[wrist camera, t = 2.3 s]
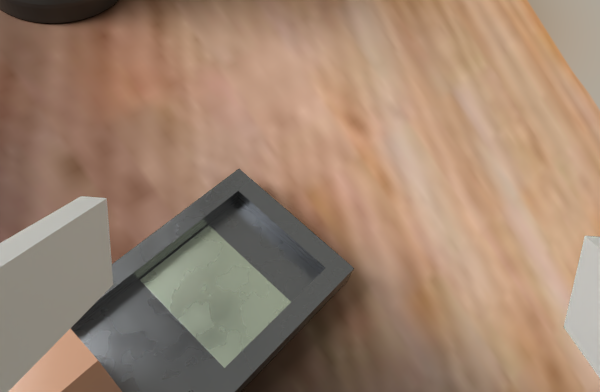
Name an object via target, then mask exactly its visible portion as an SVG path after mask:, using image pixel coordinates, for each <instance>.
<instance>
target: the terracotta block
mask: <svg viewBox="0 0 600 392" xmlns="http://www.w3.org/2000/svg"><path fill="white" fill-rule="evenodd" d="M8 392H122V391H121V389H120V388H119V387H118V386H117V384H116V383H115V382H114V380H113V379H112V378H111V376H110V375H109V374H108V373H107V371H106V370H105V369H104V367H103V366H102V365H101V363H100V362H99V361H98V360H97V358H96V357H95V356H94V355H93V354H92V353H91V351H90V350H89V349H88V348H87V347H86V346H85V345H84V343H83V342H82V341H81V340H80V339H79V338H78V337H77V335H76V334H75V333H74V332H73V331H72V330H71V328H70V329H69V330H68V331H67V332H66V333H65V334H64V335H63V336H62V337H61V338H60V339H59V340H58V341H57V342H56V343H55V344H54V346H53V347H52V348H51V349H50V350H49V351H48V352H47V353H46V354H45V355H44V356H43V357H42V358H41V359H40V360H39V361H38V362H37V363H36V364H35V365H34V366H33V367H32V368H31V369H30V370H29V371H28V372H27V373H26V374H25V375H24V376H23V377H22V378H21V379H20V380H19V381H18V382H17V383H16V384H15V385H14V386H13V387H12V388H11V389H10V390H9V391H8Z"/></svg>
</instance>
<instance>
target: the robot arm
mask: <svg viewBox="0 0 600 392" xmlns="http://www.w3.org/2000/svg"><path fill="white" fill-rule="evenodd" d="M117 1H118V0H0V9H1V10H2V11H4V12H6V13H7V14H10V15H12V16H14V17H17V18H20V19H24V20H28V21H33V22H41V23H63V22H72V21H77V20H81V19H85V18H88V17H91V16H94V15H97V14H99V13H101V12H103V11H105V10H107V9H108V8H110V7H111V6H113V5H114V4H115V3H116V2H117ZM112 285H113V275H112V262H111V249H110V236H109V223H108V209H107V198H97V197H84V196H81V197H79V198H77V199H76V200H74V201H72V202H70V203H69V204H67V205H65V206H63V207H62V208H60V209H58V210H57V211H55V212H53V213H51V214H50V215H48V216H46V217H45V218H43V219H41V220H39V221H38V222H36V223H34V224H32V225H31V226H29V227H27V228H26V229H24V230H22V231H20V232H19V233H17V234H15V235H14V236H12V237H10V238H8V239H7V240H5V241H3V242H1V243H0V392H8V391H9V390H10V389H11V388H12V387H13V386H14V385H15V384H16V383H17V382H18V381H19V380H20V379H21V378H22V377H23V376H24V375H25V374H26V373H27V372H28V371H29V370H30V369H31V368H32V367H33V366H34V365H35V364H36V363H37V362H38V361H39V360H40V359H41V358H42V357H43V356H44V355H45V354H46V353H47V352H48V351H49V350H50V349H51V348H52V347H53V346H54V344H55V343H56V342H57V341H58V340H59V339H60V338H61V337H62V336H63V335H64V334H65V333H66V332H67V331H68V330H69V329H70V328H71V327H72V326H73V325H74V324H75V323H76V322H77V321H78V320H79V319H80V318H81V317H82V316H83V315H84V314H85V313H86V312H87V311H88V310H89V309H90V308H91V307H92V306H93V305H94V304H95V303H96V302H97V301H98V300H99V299H100V298H101V297H102V296H103V295H104V294H105V293H106V292H107V291H108V290H109V288H110V287H111V286H112ZM564 328H565V330H566V331H567V333H568V334H569V335H570V337H571V338H572V340H573V341H574V342H575V344H576V345H577V347H578V348H579V350H580V351H581V352H582V354H583V355H584V357H585V358H586V359H587V361H588V362H589V364H590V365H591V367H592V368H593V369H594V371H595V372H596V374H597V375H598V376H599V378H600V237H595V236H585V237H584V242H583V246H582V250H581V255H580V259H579V263H578V267H577V272H576V276H575V280H574V285H573V289H572V293H571V298H570V302H569V306H568V311H567V315H566V319H565V324H564Z"/></svg>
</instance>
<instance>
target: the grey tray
mask: <svg viewBox="0 0 600 392" xmlns="http://www.w3.org/2000/svg"><path fill="white" fill-rule="evenodd" d="M353 269H354V268H353V267H352V266H351V265H350V264H348V263H347V262H346V261H345V260H344V259H343V258H342V257H340V256H339V255H338V254H337V253H336V252H335V251H333V250H332V249H331V248H330V247H329V246H328V245H327V244H325V243H324V242H323V241H322V240H321V239H320V238H318V237H317V236H316V235H315V234H314V233H313V232H312V231H310V230H309V229H308V228H307V227H306V226H305V225H303V224H302V223H301V222H300V221H299V220H298V219H297V218H295V217H294V216H293V215H292V214H291V213H290V212H288V211H287V210H286V209H285V208H284V207H283V206H282V205H280V204H279V203H278V202H277V201H276V200H275V199H273V198H272V197H271V196H270V195H269V194H268V193H267V192H265V191H264V190H263V189H262V188H261V187H260V186H258V185H257V184H256V183H255V182H254V181H253V180H252V179H250V178H249V177H248V176H247V175H246V174H245V173H243V172H242V171H241V170H240V169H238V170H236V171H235V172H234V173H232V174H231V175H230V176H229V177H227V178H226V179H225V180H223V181H222V182H221V183H219V184H218V185H217V186H215V187H214V188H213V189H211V190H210V191H209V192H207V193H206V194H205V195H203V196H202V197H201V198H199V199H198V200H197V201H195V202H194V203H193V204H191V205H190V206H189V207H187V208H186V209H185V210H183V211H182V212H181V213H179V214H178V215H177V216H175V217H174V218H173V219H172V220H170V221H169V222H168V223H166V224H165V225H164V226H162V227H161V228H160V229H158V230H157V231H156V232H154V233H153V234H152V235H150V236H149V237H148V238H146V239H145V240H144V241H142V242H141V243H140V244H138V245H137V246H136V247H134V248H133V249H132V250H130V251H129V252H128V253H126V254H125V255H124V256H122V257H121V258H120V259H118V260H117V261H116V262H115V263H113V264H112V275H113V285H112V286H111V287H110V288H109V290H108V291H107V292H106V293H105V294H104V295H103V296H102V297H101V298H100V299H99V300H98V301H97V302H96V303H95V304H94V305H93V306H92V307H91V308H90V309H89V310H88V311H87V312H86V313H85V314H84V315H83V316H82V317H81V318H80V319H79V320H78V321H77V322H76V323H75V324H74V325H73V326H72V327H71V330H72V331H73V332H74V333H75V334H76V335H77V337H78V338H79V339H80V340H81V341H82V342H83V343H84V345H85V346H86V347H87V348H88V349H89V350H90V351H91V353H92V354H93V355H94V356H95V357H96V358H97V360H98V361H99V362H100V363H101V365H102V366H103V367H104V369H105V370H106V371H107V373H108V374H109V375H110V376H111V378H112V379H113V380H114V382H115V383H116V384H117V386H118V387H119V388H120V389H121V391H122V392H241V391H242V390H243V389H244V388H245V387H246V386H247V385H248V384H249V383H250V382H251V381H252V380H253V379H254V378H255V377H256V376H257V375H258V374H259V373H260V372H261V371H262V369H263V368H264V367H265V366H266V365H267V364H268V363H269V362H270V361H271V360H272V359H273V358H274V357H275V356H276V355H277V354H278V353H279V352H280V351H281V350H282V349H283V348H284V347H285V345H286V344H287V343H288V342H289V341H290V340H291V339H292V338H293V337H294V336H295V335H296V334H297V333H298V332H299V331H300V330H301V329H302V328H303V327H304V326H305V325H306V324H307V323H308V322H309V320H310V319H311V318H312V317H313V316H314V315H315V314H316V313H317V312H318V311H319V310H320V309H321V308H322V307H323V306H324V305H325V304H326V303H327V302H328V301H329V300H330V299H331V298H332V297H333V295H334V294H335V293H336V292H337V291H338V290H339V289H340V288H341V287H342V286H343V285H344V284H345V283H346V282H347V281H348V279H349V277H350V275H351V273H352V271H353Z"/></svg>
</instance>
